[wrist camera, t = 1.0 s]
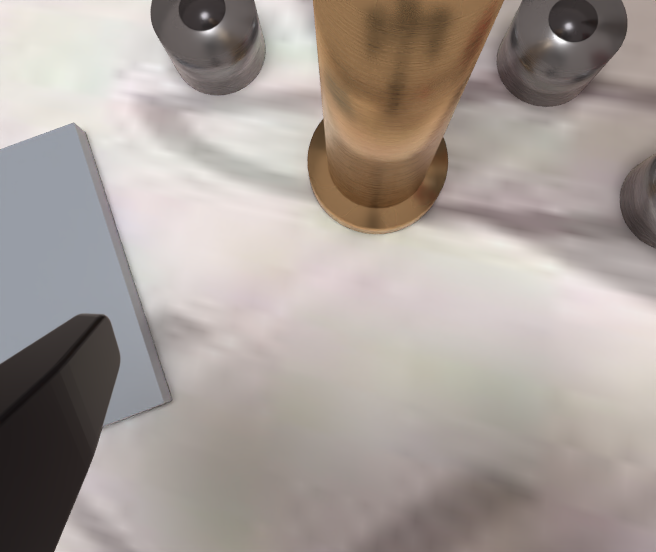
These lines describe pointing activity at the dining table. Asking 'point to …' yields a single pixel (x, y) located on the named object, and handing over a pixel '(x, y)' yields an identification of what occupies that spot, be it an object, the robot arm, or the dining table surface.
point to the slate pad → (69, 262)
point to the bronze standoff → (389, 103)
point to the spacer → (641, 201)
